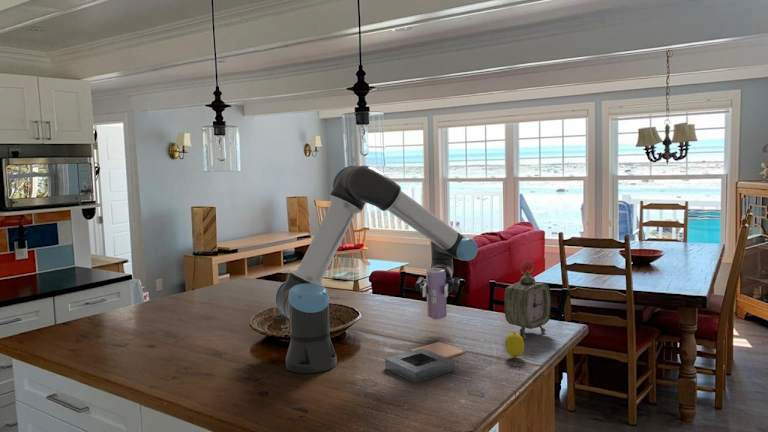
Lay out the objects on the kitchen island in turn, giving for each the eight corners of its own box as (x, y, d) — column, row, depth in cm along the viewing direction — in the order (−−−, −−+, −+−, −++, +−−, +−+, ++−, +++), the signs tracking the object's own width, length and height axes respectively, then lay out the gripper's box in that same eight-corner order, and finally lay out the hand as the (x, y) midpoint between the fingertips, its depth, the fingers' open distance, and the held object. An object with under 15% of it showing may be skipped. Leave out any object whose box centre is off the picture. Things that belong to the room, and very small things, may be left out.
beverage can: (449, 316, 173) (448, 268, 172) (441, 321, 168) (440, 272, 167) (432, 313, 176) (431, 267, 175) (423, 318, 171) (422, 270, 170)
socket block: (415, 383, 149) (415, 372, 149) (385, 368, 161) (385, 358, 161) (454, 370, 158) (453, 360, 157) (422, 357, 169) (422, 348, 169)
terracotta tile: (435, 361, 165) (435, 359, 165) (410, 351, 175) (410, 349, 175) (465, 352, 172) (465, 350, 172) (439, 343, 182) (439, 341, 182)
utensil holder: (269, 337, 194) (267, 304, 193) (276, 332, 200) (275, 299, 199) (284, 338, 192) (283, 304, 191) (292, 333, 198) (290, 300, 197)
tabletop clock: (524, 342, 181) (524, 266, 179) (502, 336, 188) (502, 263, 186) (550, 332, 190) (550, 260, 188) (528, 327, 197) (528, 257, 195)
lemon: (511, 362, 163) (510, 335, 162) (502, 356, 168) (501, 330, 168) (527, 360, 165) (527, 333, 164) (518, 354, 170) (518, 328, 169)
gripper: (468, 287, 188) (466, 305, 165) (413, 287, 191) (404, 304, 168) (468, 266, 187) (466, 280, 164) (412, 266, 190) (403, 280, 168)
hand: (434, 292), depth 166 cm, fingers closed on beverage can, 6 cm apart
